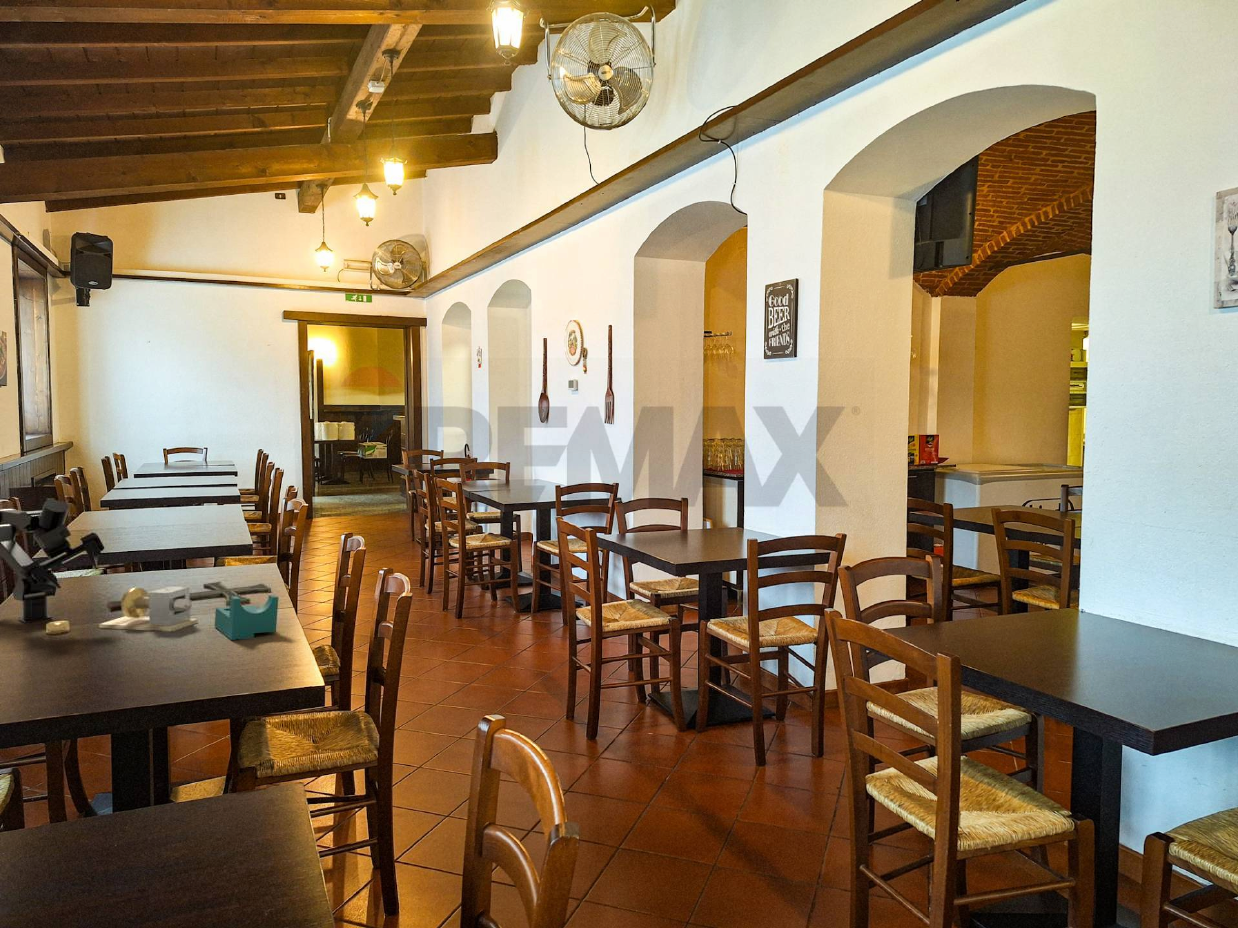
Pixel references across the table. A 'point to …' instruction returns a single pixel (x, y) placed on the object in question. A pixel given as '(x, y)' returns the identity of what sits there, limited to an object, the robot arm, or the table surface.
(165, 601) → the bearing block
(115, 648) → the table surface
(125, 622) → the board
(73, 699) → the table surface
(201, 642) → the table surface
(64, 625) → the spacer
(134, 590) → the shaft
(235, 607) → the teal saddle bracket
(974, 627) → the table surface
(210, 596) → the cross
